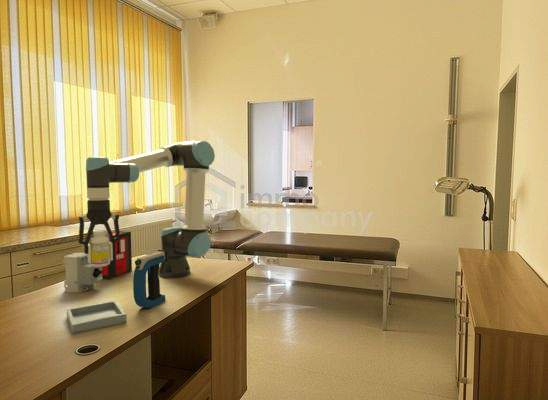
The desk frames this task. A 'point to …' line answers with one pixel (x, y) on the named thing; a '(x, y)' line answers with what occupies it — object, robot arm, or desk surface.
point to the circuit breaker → (80, 273)
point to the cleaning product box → (119, 257)
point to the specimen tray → (95, 316)
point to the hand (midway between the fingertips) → (100, 260)
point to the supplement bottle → (100, 249)
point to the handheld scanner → (139, 279)
